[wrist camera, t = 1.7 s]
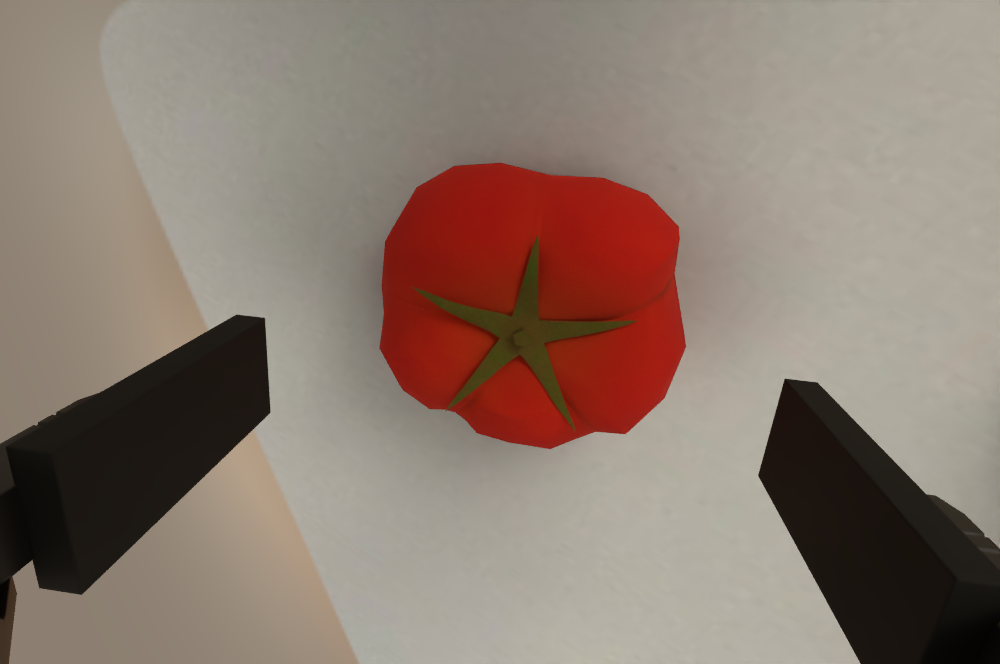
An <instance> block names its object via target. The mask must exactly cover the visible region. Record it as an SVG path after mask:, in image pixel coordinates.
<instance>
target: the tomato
mask: <svg viewBox="0 0 1000 664" xmlns="http://www.w3.org/2000/svg"><path fill="white" fill-rule="evenodd" d="M679 239H680V237H679V227H678V226H677V224H676V223H675V222H674V221H673V220H672V219H671V218H670V217H669V216H668V215H667V214H666V213H665V212H664V211H663V210H662V209H661V208H660V207H659V206H658V205H657V204H656V203H655V202H654V200H653V199H652V198H651V197H650V196H649V195H647V194H645V193H642V192H639V191H637V190H634V189H631V188H629V187H626V186H623V185H621V184H618V183H615V182H613V181H610V180H607V179H605V178H595V177H575V176H555V175H548V174H544V173H540V172H536V171H532V170H528V169H523V168H519V167H515V166H511V165H507V164H503V163H492V164H477V165H462V166H453V167H452V168H450V169H448V170H446V171H445V172H443V173H441V174H439V175H438V176H436V177H434V178H432V179H431V180H429V181H427V182H425V183H424V184H422V185H420V186H418V187H417V188H416V189H415V191H414V193H413V195H412V196H411V198H410V200H409V201H408V203H407V205H406V206H405V208H404V210H403V211H402V213H401V215H400V216H399V218H398V220H397V221H396V223H395V225H394V226H393V228H392V230H391V232H390V234H389V235H388V237H387V239H386V241H385V248H384V262H383V275H382V296H383V308H384V317H383V325H382V333H381V341H380V350H381V352H382V354H383V356H384V357H385V359H386V361H387V363H388V365H389V367H390V368H391V370H392V372H393V374H394V376H395V377H396V379H397V381H398V383H399V385H400V386H401V388H402V389H403V390H404V391H405V392H406V393H408V394H409V395H411V396H412V397H414V398H415V399H416V400H418V401H419V402H421V403H422V404H423V405H425V406H426V407H428V408H429V409H442V410H446V411H447V410H449V411H452V412H456V413H457V414H458V415H460V416H461V417H462V418H464V419H465V420H466V421H467V422H468V423H469V425H470V426H471V427H472V428H473V429H474V430H475V431H476V433H479V434H482V435H486V436H489V437H492V438H496V439H499V440H503V441H506V442H510V443H516V444H523V445H529V446H535V447H541V448H547V449H552V448H554V447H557V446H559V445H561V444H564V443H566V442H569V441H571V440H574V439H577V438H579V437H582V436H585V435H588V434H590V433H593V432H607V433H619V434H626V433H627V432H628V431H630V430H631V429H632V428H633V427H634V426H635V425H636V424H637V423H638V422H639V421H640V420H642V419H643V418H644V417H645V416H646V415H647V414H648V413H649V412H650V411H651V410H652V409H653V408H654V407H655V406H657V405H658V404H659V403H660V402H661V401H662V400H663V399H664V398H665V396H666V393H667V391H668V389H669V386H670V384H671V381H672V379H673V377H674V374H675V372H676V369H677V367H678V365H679V362H680V360H681V357H682V355H683V353H684V350H685V348H686V344H685V336H684V330H683V324H682V318H681V311H680V305H679V299H678V293H677V287H676V281H675V274H674V273H675V266H676V259H677V253H678V246H679Z"/></svg>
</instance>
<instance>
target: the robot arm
mask: <svg viewBox="0 0 1000 664" xmlns="http://www.w3.org/2000/svg"><path fill="white" fill-rule="evenodd" d="M269 413H270V397H269V380H268V363H267V346H266V330H265V318H260V317H252V316H243V315H235V316H233V317H232V318H230V319H228V320H226V321H225V322H223V323H221V324H219V325H218V326H216V327H214V328H212V329H211V330H209V331H207V332H205V333H204V334H202V335H200V336H198V337H197V338H195V339H193V340H192V341H190V342H188V343H186V344H184V345H183V346H181V347H179V348H177V349H176V350H174V351H172V352H170V353H169V354H167V355H166V356H163V357H162V358H160V359H158V360H156V361H155V362H153V363H151V364H149V365H148V366H146V367H144V368H142V369H141V370H139V371H137V372H135V373H134V374H132V375H130V376H128V377H127V378H125V379H123V380H121V381H120V382H118V383H116V384H114V385H113V386H111V387H109V388H108V389H106V390H104V391H102V392H100V393H97V394H95V395H92V396H89V397H86V398H83V399H80V400H77V401H76V402H74V403H72V404H71V405H69V406H67V407H65V408H63V409H61V410H60V411H58V412H57V413H56V415H51V416H49V417H47V418H45V419H44V420H42V421H40V422H38V425H37V426H35V425H33V426H31V427H29V428H28V429H26V430H24V431H22V432H20V433H19V434H17V435H15V436H13V437H11V438H10V439H8V440H6V441H4V442H3V443H1V444H0V664H9V656H10V647H11V638H12V630H13V621H14V612H15V603H16V595H17V593H16V589H15V585H14V581H13V577H12V576H13V575H14V574H15V573H17V572H18V571H19V570H20V569H21V568H23V567H24V566H25V565H26V564H28V563H29V562H30V561H31V560H33V564H34V568H35V572H36V576H37V580H38V584H39V588H42V589H49V590H55V591H61V592H68V593H75V594H81V595H82V594H83V593H84V592H85V591H86V590H87V589H88V588H89V587H90V586H91V585H92V584H93V583H94V582H95V581H96V580H97V579H98V578H100V577H101V576H102V575H103V573H105V572H106V570H108V569H109V568H110V567H111V566H112V565H113V564H114V563H115V562H116V561H117V560H118V559H119V558H120V557H121V556H122V555H123V554H124V553H125V552H126V551H127V550H128V549H130V548H131V547H132V546H133V545H134V544H135V543H136V542H137V541H138V540H139V539H140V538H141V537H142V536H143V535H144V534H145V533H146V532H147V531H148V530H149V529H150V528H151V527H152V526H153V525H154V524H155V523H157V522H158V520H160V519H161V518H162V517H163V516H164V515H165V514H166V513H167V512H168V511H169V510H170V509H171V508H172V507H173V506H174V505H175V504H176V503H177V502H178V501H179V500H180V499H181V498H182V497H183V496H184V495H185V494H186V493H188V492H189V491H190V490H191V489H192V488H193V487H194V486H195V485H196V484H197V483H198V482H199V481H200V480H201V479H202V478H203V477H204V476H205V475H206V474H207V473H208V472H209V471H210V470H211V469H212V468H213V467H215V466H216V465H217V464H218V463H219V462H220V461H221V460H222V459H223V458H224V457H225V456H226V455H227V454H228V453H229V452H230V451H231V450H232V449H233V448H234V447H235V446H236V445H237V444H238V443H239V442H240V441H241V440H243V439H244V438H245V437H246V436H247V435H248V433H250V432H251V431H252V430H253V429H254V428H255V427H256V426H257V425H258V424H259V423H260V422H261V421H262V420H263V419H264V418H265V417H266V416H267V415H268V414H269ZM758 476H759V478H760V480H761V482H762V483H763V485H764V487H765V489H766V491H767V493H768V494H769V496H770V498H771V500H772V502H773V504H774V505H775V507H776V509H777V511H778V513H779V515H780V516H781V518H782V520H783V522H784V524H785V526H786V528H787V529H788V531H789V533H790V535H791V537H792V539H793V540H794V542H795V544H796V546H797V548H798V550H799V551H800V553H801V555H802V557H803V559H804V561H805V562H806V564H807V566H808V568H809V570H810V572H811V573H812V575H813V577H814V579H815V581H816V583H817V584H818V586H819V588H820V590H821V592H822V594H823V595H824V597H825V599H826V601H827V603H828V605H829V606H830V608H831V610H832V612H833V614H834V616H835V617H836V619H837V621H838V623H839V625H840V627H841V628H842V630H843V632H844V634H845V636H846V638H847V639H848V641H849V643H850V645H851V647H852V649H853V650H854V652H855V654H856V656H857V658H858V660H859V661H860V663H861V664H1000V549H999V548H998V547H997V546H996V545H995V544H994V543H993V542H992V541H991V540H990V539H989V538H986V537H984V533H983V532H982V531H981V530H980V529H979V528H978V527H977V526H976V525H975V524H974V523H973V522H972V521H971V520H970V519H969V518H968V517H967V516H966V515H965V514H963V513H962V512H960V511H959V510H957V509H956V508H954V507H952V506H951V505H949V504H948V503H946V502H945V501H943V500H942V499H940V498H938V497H937V496H935V495H927V494H925V493H924V492H923V491H922V490H921V489H920V487H919V486H918V485H917V484H916V483H915V482H914V481H913V480H912V479H911V478H910V477H909V476H908V475H907V474H906V473H905V472H904V471H903V470H902V469H901V468H900V467H899V466H898V465H897V464H896V463H895V462H894V461H893V460H892V459H891V458H890V457H889V456H888V455H887V454H886V453H885V452H884V450H883V449H882V448H881V447H880V446H879V445H878V444H877V443H876V442H875V441H874V440H873V439H872V438H871V437H870V436H869V435H868V434H867V433H866V432H865V431H864V430H863V429H862V428H861V427H860V426H859V425H858V424H857V423H856V422H855V421H854V420H853V419H852V418H851V417H850V416H849V415H848V414H847V412H846V411H845V410H844V409H843V408H842V407H841V406H840V405H839V404H838V403H837V402H836V401H835V400H834V399H833V398H832V397H831V396H830V395H829V394H828V393H827V392H826V391H825V390H824V389H823V388H822V387H821V386H820V385H819V384H818V383H816V382H808V381H799V380H791V379H785V380H784V384H783V387H782V391H781V395H780V398H779V402H778V406H777V409H776V413H775V417H774V420H773V424H772V428H771V431H770V435H769V438H768V442H767V446H766V449H765V453H764V457H763V460H762V464H761V468H760V471H759V475H758Z"/></svg>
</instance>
